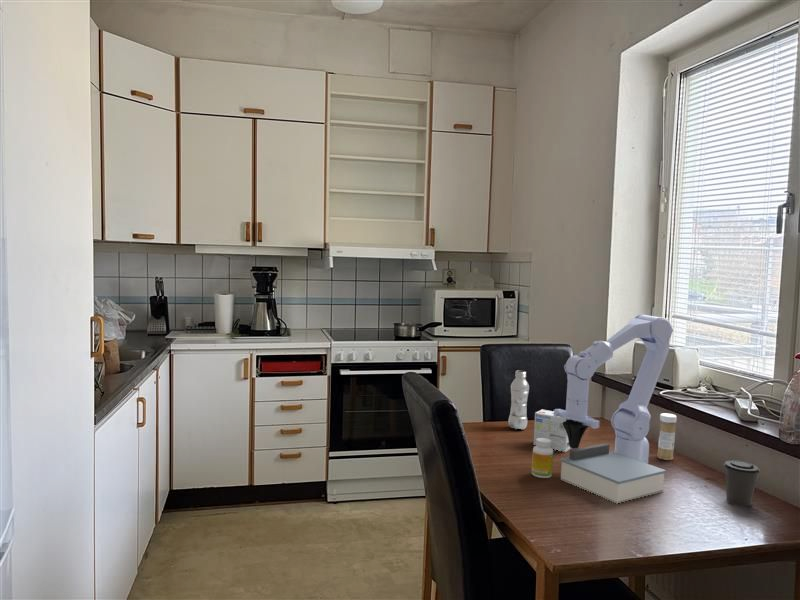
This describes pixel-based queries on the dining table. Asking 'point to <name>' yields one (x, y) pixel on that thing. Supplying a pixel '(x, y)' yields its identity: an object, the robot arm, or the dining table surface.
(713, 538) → the dining table surface
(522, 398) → the plastic bottle
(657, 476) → the white square shallow box
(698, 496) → the dining table surface
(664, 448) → the sprinkles bottle
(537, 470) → the supplement bottle
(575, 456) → the lid
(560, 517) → the dining table surface
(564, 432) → the light bulb box
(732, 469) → the coffee cup
